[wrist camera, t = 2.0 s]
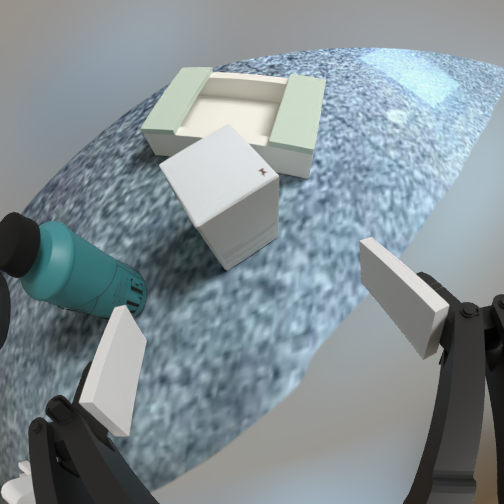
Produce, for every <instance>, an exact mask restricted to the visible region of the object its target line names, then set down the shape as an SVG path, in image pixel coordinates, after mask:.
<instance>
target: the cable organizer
mask: <svg viewBox="0 0 504 504" xmlns="http://www.w3.org/2000/svg"><path fill="white" fill-rule="evenodd" d="M19 468H20V469H21V470H22V471H23V472H24V473H23V474H20V478H17V479H14V480H10V481H8V482H7V483H5V484H4V485H3V487H2V490H1V494H2V497H3V498H4V499H5V500H6V501H7V502H8V503H9V504H36V502H35V496H34V490H33V484H32V476H31V467H30V463H29V462H28V461H27V460H26V461H23V462H19Z"/></svg>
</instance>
